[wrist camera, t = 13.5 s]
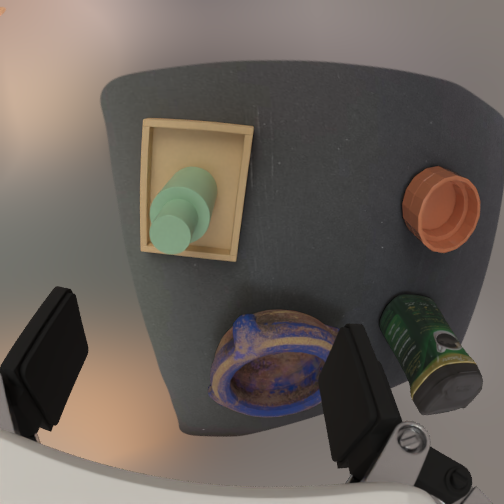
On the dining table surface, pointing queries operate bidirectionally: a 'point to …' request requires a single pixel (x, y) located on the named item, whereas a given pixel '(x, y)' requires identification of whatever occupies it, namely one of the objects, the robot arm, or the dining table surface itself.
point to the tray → (208, 158)
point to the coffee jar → (430, 355)
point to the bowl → (271, 363)
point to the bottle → (182, 210)
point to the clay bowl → (441, 208)
